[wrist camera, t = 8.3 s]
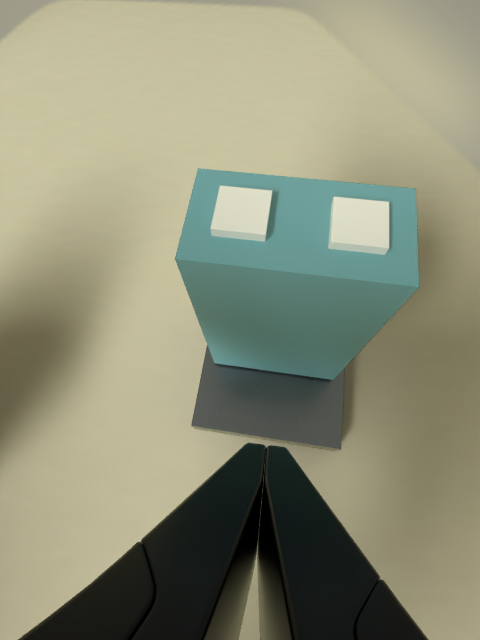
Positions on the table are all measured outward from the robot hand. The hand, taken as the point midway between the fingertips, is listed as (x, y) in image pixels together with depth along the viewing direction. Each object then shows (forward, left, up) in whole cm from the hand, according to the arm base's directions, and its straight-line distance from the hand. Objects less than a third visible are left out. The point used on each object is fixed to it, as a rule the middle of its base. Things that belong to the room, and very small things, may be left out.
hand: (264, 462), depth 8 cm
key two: (+6, -1, -10) cm, 11 cm away
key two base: (+5, -1, -11) cm, 13 cm away
